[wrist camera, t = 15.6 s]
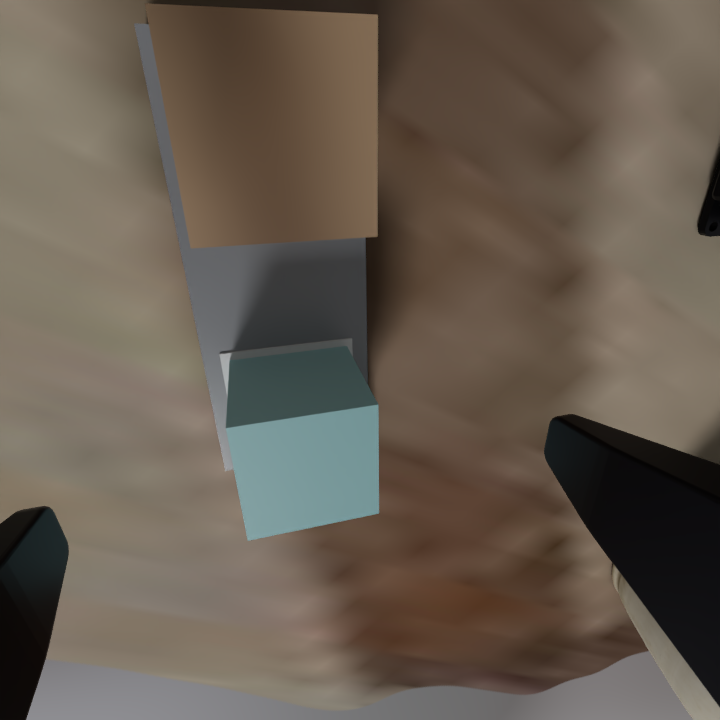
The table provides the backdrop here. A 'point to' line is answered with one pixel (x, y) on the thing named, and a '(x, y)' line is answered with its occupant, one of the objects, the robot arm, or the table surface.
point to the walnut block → (270, 121)
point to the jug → (667, 655)
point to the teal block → (302, 440)
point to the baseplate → (262, 285)
